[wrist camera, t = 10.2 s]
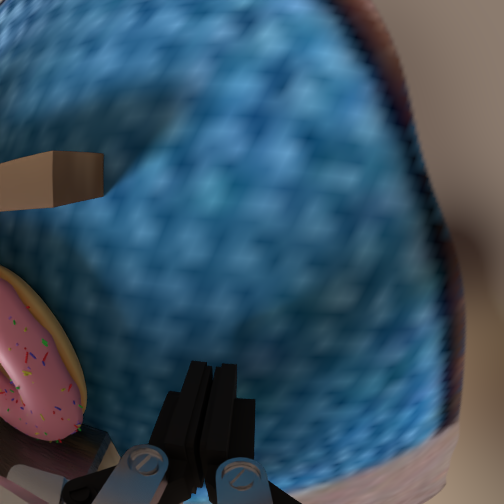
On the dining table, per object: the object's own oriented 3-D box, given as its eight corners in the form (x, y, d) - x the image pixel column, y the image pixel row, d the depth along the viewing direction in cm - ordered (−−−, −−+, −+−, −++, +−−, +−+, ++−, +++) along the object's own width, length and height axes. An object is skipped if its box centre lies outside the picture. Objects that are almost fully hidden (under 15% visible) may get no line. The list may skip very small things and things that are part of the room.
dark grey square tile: (0, 386, 13) (-66, 466, 2) (107, 432, 13) (46, 566, 2) (4, 395, 13) (-59, 474, 3) (111, 440, 13) (55, 570, 2)
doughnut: (-24, 218, 10) (-76, 235, 6) (116, 321, 11) (66, 379, 7) (-18, 350, 12) (-48, 377, 8) (92, 435, 14) (70, 478, 9)
